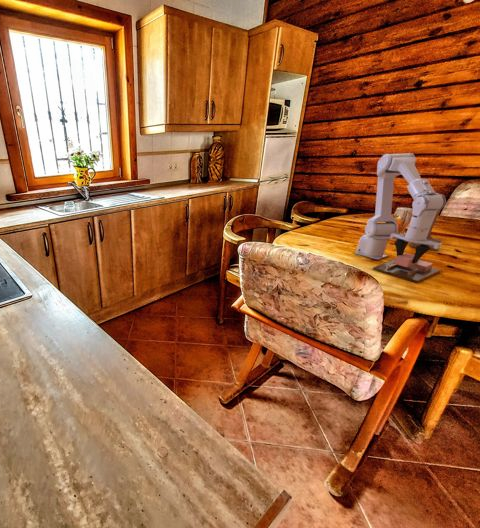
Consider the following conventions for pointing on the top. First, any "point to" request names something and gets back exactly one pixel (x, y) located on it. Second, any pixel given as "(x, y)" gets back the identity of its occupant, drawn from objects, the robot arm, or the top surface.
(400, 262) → the loose pad
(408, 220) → the beer glass
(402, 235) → the robot arm
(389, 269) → the board
